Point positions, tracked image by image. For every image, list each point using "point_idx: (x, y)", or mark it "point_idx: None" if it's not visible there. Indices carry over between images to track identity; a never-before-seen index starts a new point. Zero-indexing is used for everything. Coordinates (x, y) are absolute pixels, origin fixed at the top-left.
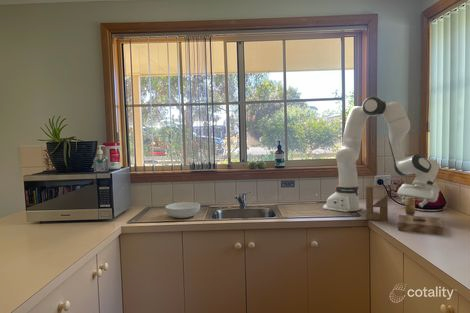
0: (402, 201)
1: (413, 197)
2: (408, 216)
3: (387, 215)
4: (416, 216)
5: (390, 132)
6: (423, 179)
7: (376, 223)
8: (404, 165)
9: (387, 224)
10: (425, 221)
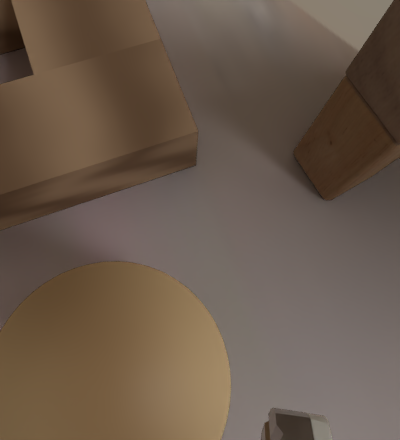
0: (312, 435)
1: (24, 435)
2: (94, 119)
3: (309, 128)
4: (24, 170)
5: None
6: None
7: (312, 31)
8: None
9: (238, 53)
10: None
